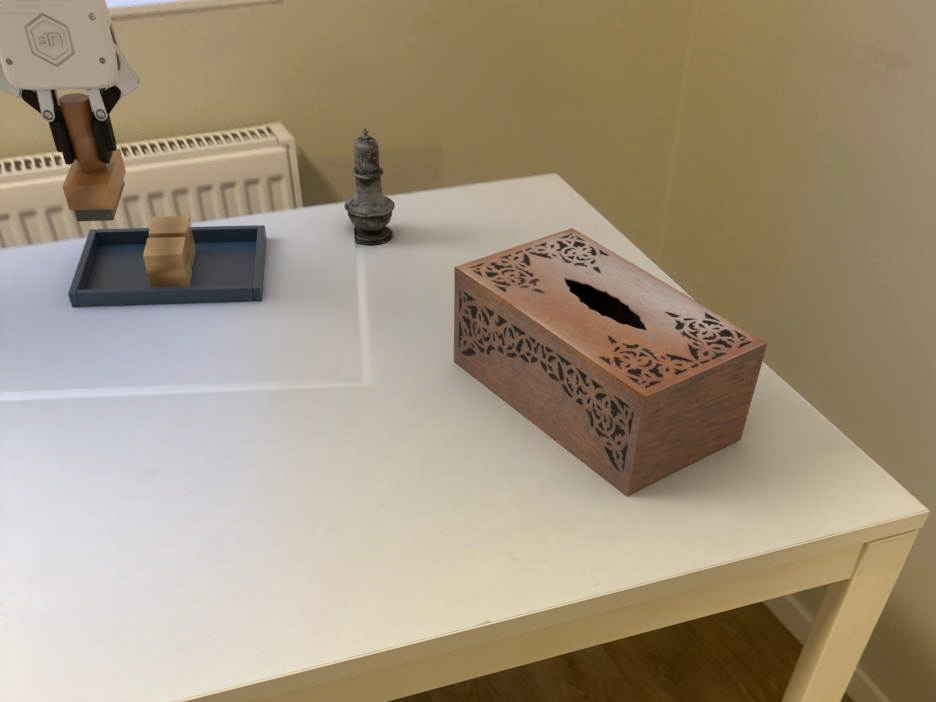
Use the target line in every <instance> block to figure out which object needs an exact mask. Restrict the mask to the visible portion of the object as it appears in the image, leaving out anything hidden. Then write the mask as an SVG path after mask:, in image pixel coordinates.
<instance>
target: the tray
mask: <svg viewBox="0 0 936 702" xmlns="http://www.w3.org/2000/svg"><path fill="white" fill-rule="evenodd" d="M191 227H192V232H193V238H194V243H195V248H196V253H195V259H194V265H193V267H191V268H192V276H191V282H190V287H156V288H151V287H150V283H149V279H148V275H147V271H146V266H145V262H144V258H143V253H144V249H145V245H146V241H147V238H149V230H150V227H131V228H128V227H127V228H126V227H125V228H97V229H94V228H93V229H91V228H90V229H89V231H88V235H87V237H86V240H85V242H84V245H83V249H82V251H81V254H80V258H79V261H78V262H77V263H78V264H77V266H76V269H75V273H74V275H73V278H72V281H71V284H70V287H69V290H68V293H67V295H68V298H69V302H70V304H71V307H72V308H92V307H93V308H95V307H97V308H98V307H99V308H101V307H127V306H128V307H129V306H158V305H159V306H161V305H162V306H163V305H188V304H189V305H190V304H192V305H193V304H223V303H224V304H225V303H253V302H255V303H256V302H258V303H259V302H263V290H264V278H265V277H264V275H265V263H266V251H267V250H266V249H267V231H266V226H265V225H264V224H263V225H261V224H260V225H258V224H255V225H253V224H252V225H250V224H249V225H215V226H213V225H212V226H211V225H210V226H191Z"/></svg>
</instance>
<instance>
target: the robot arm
mask: <svg viewBox="0 0 936 702" xmlns="http://www.w3.org/2000/svg"><path fill="white" fill-rule="evenodd" d="M140 81H141V79H140V76H139V74H138V73H137V72H136V70H135V69H134V67H133V66H132V64H131V63H130V62H129V61H128V59H127V58H126V57H125V55H124V53H123V52H122V50H121V49H120V46H119V42H118V38H117V34H116V31H115V28H114V24H113V20H112V18H111V13H110V11H109V8H108V5H107V2H106V0H0V91H2V92H4V93H7V94H8V95H11V96H13V97H16V98H18V99H21V100H23V101H24V102H25V103H26V104H28V105H29V106H30V107H31V108H32V109H33V110H35V111H37V112H38V113H39V114H40V115H41V117H42V119H43V120H44V121H46V122H48V125H49V128H50V132H51V136H52V139H53V143H54V146H55V150H56V152H57V153H62V157H63V159H64V164H65V165H71V164H72V163H74V161H75V157H74V153H73V150H72V146H71V142H70V139H69V135H68V132H67V128H66V125H65V121H64V117H63V114H62V110H61V107H60V103H59V95H58V91H59V90H85V91H86V95H87V96H88V97H89V100H90V103H91V107H92V111H93V112H92V114H93V119H92V122H91V125H92V129H93V133H94V137H95V140H96V144H97V148H98V152H99V156H100V160H101V162H103V163H110V160H111V157H112V154H113V151H116V149H118V147H117V140H116V136H115V132H114V127H113V123H112V120H111V116H110V114H111V112H112V111H113V109H114V108H115V107H116V105H117V104H118V102H119V101H120V99H122V98H123V97H125V96H127V95H128V94H130V93H132V92H133V91H135V90H137V89H138V87H139V85H140Z"/></svg>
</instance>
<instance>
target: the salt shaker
mask: <svg viewBox="0 0 936 702" xmlns="http://www.w3.org/2000/svg"><path fill="white" fill-rule="evenodd" d="M361 133H362V135H361V136H359V137H357V138H356V139H355V140H354V141H353V156H354V157H353V158H354V167H352V170H351V174H352V176H354V182H355V183H354V185H355V191H354V195H353V196H352V197H349V198H348V199H347V200H345V202H344V210H345V212H347V217H348V218H349V221H350V222H351V224H352V225H353V226H354V227H353V235H354V243H356V244H359V245H363V246H377V245H378V246H380V245H382V244H386V243H388V242H390V241H391V240H392V239H393V238H394V231H393V230H392V229H391V228H390V227H388V226H387V225H389V223H390V221H391V219H392V216H393V211H394V209H395V206H396V205H395V202H394V200H392V199H391V198H390V197H388V196H386V195H384V193H383V190H382V176H383V174H384V170H383V168H382V167H381V165H380V150H379V149H380V148H379V147H380V146H379V142H378V140H377V139H376V138H374V137H372V136H371V135H368V134H369V131H368V129H367V128H366V127H365V128H364V129H363V130H362V131H361Z"/></svg>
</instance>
